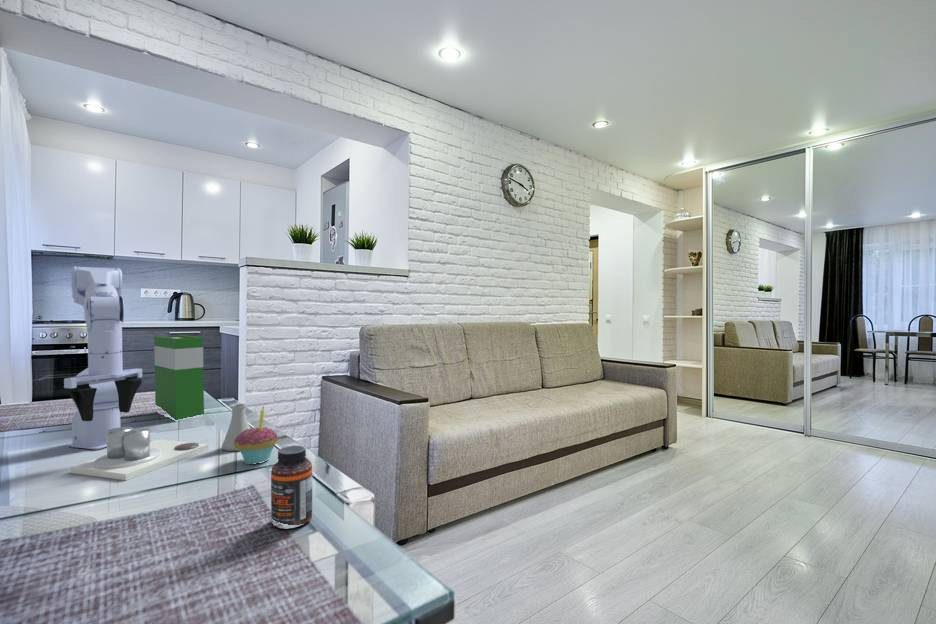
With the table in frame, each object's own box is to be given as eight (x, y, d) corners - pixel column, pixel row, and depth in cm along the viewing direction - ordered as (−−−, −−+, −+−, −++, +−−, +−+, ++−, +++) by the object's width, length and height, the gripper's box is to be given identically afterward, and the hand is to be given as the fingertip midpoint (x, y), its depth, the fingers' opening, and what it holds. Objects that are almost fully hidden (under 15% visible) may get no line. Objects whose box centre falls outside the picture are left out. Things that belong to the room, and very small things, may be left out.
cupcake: (286, 456, 99) (286, 402, 99) (257, 470, 91) (256, 411, 91) (256, 452, 102) (255, 400, 102) (224, 465, 94) (223, 408, 94)
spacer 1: (101, 458, 93) (101, 432, 93) (120, 451, 98) (119, 426, 97) (120, 459, 93) (120, 432, 93) (138, 452, 97) (138, 427, 97)
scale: (69, 472, 90) (69, 463, 90) (158, 444, 108) (158, 436, 108) (126, 480, 86) (125, 471, 86) (208, 449, 104) (208, 441, 104)
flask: (242, 453, 102) (241, 409, 102) (214, 451, 103) (213, 407, 103) (262, 443, 109) (262, 402, 109) (236, 441, 110) (236, 401, 110)
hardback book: (155, 412, 141) (154, 336, 140) (182, 408, 146) (181, 334, 146) (176, 421, 129) (174, 338, 129) (204, 416, 135) (202, 337, 135)
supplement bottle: (262, 529, 67) (261, 454, 67) (285, 511, 73) (284, 442, 73) (299, 533, 66) (298, 456, 66) (319, 514, 72) (319, 443, 72)
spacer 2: (120, 458, 93) (119, 432, 93) (144, 452, 97) (143, 427, 97) (129, 462, 91) (129, 435, 91) (154, 456, 94) (153, 430, 94)
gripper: (81, 357, 88) (82, 426, 88) (152, 349, 102) (153, 409, 102) (55, 356, 90) (57, 423, 90) (128, 349, 104) (129, 407, 104)
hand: (106, 416), depth 96 cm, fingers open, 7 cm apart
